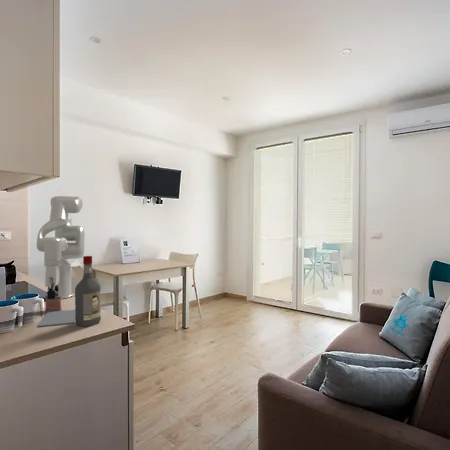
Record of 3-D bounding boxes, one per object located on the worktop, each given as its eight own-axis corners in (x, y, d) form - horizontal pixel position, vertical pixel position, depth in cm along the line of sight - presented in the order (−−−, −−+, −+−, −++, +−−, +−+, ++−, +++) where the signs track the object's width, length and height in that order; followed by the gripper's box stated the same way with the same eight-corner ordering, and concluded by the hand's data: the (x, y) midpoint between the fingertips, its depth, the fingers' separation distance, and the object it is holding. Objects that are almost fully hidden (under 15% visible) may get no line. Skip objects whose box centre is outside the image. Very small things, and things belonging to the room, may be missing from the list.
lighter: (63, 310, 159) (62, 290, 159) (58, 312, 156) (58, 292, 156) (48, 309, 160) (47, 289, 160) (43, 311, 157) (43, 291, 157)
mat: (47, 313, 154) (47, 311, 154) (78, 310, 159) (78, 309, 159) (38, 327, 135) (38, 325, 135) (73, 323, 140) (73, 322, 140)
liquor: (72, 324, 139) (71, 256, 138) (90, 318, 147) (89, 254, 146) (86, 327, 135) (85, 258, 134) (103, 321, 143) (103, 255, 142)
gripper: (47, 261, 164) (48, 293, 164) (40, 265, 148) (40, 301, 148) (63, 260, 167) (64, 292, 167) (58, 264, 150) (58, 300, 150)
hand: (53, 296), depth 157 cm, fingers open, 9 cm apart
